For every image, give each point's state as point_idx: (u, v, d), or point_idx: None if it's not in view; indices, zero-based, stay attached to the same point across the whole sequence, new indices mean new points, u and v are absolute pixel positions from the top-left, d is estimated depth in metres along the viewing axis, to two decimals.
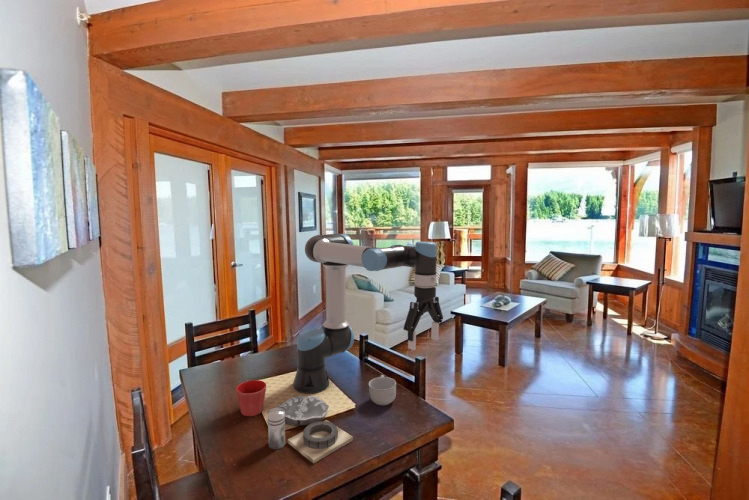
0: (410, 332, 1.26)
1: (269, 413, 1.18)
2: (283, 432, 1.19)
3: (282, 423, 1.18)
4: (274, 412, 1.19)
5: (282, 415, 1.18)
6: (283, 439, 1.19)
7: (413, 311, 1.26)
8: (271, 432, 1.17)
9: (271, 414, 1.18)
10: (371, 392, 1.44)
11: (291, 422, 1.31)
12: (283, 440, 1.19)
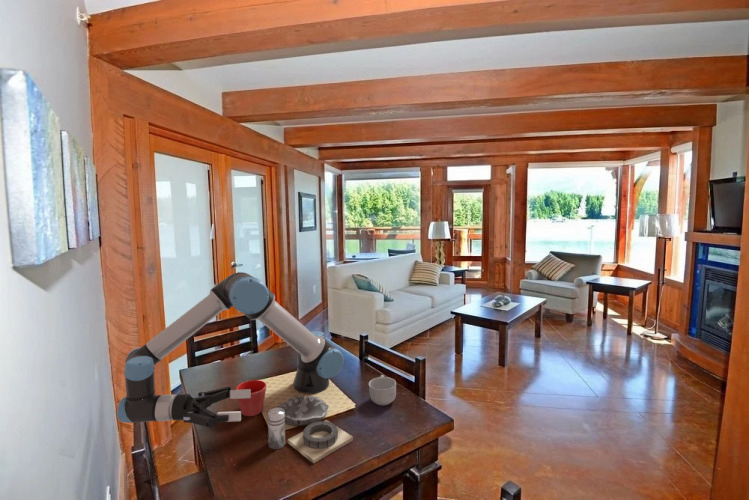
0: None
1: (269, 413, 1.18)
2: (283, 432, 1.19)
3: (282, 423, 1.18)
4: (274, 412, 1.19)
5: (282, 415, 1.18)
6: (283, 439, 1.19)
7: None
8: (271, 432, 1.17)
9: (271, 414, 1.18)
10: (371, 392, 1.44)
11: (291, 422, 1.31)
12: (283, 440, 1.19)
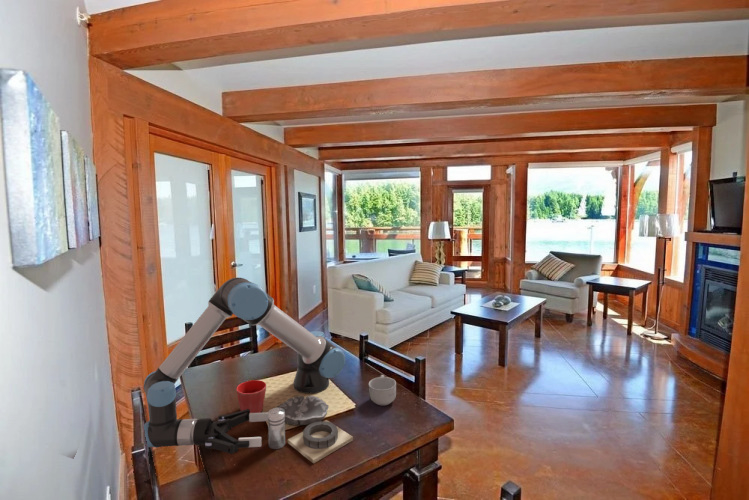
0: None
1: (269, 413, 1.18)
2: (283, 432, 1.19)
3: (282, 423, 1.18)
4: (274, 412, 1.19)
5: (282, 415, 1.18)
6: (283, 439, 1.19)
7: None
8: (271, 432, 1.17)
9: (271, 414, 1.18)
10: (371, 392, 1.44)
11: (291, 422, 1.31)
12: (283, 440, 1.19)
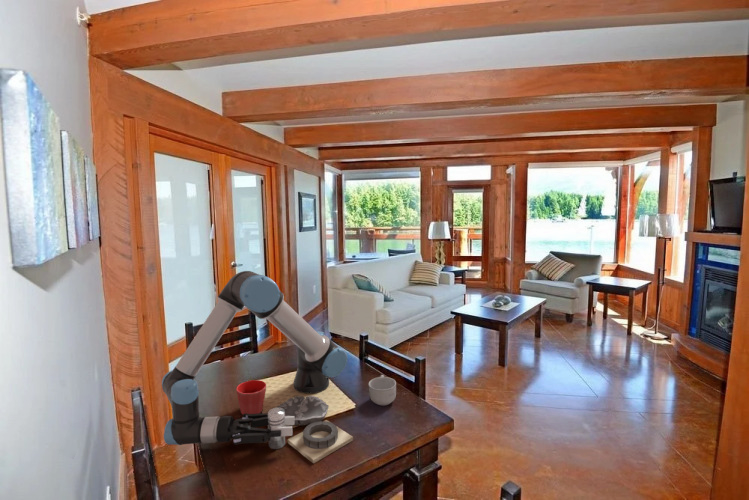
0: None
1: (269, 413, 1.18)
2: None
3: (282, 423, 1.18)
4: (274, 412, 1.19)
5: (282, 415, 1.18)
6: (283, 439, 1.19)
7: None
8: None
9: (271, 414, 1.18)
10: (371, 392, 1.44)
11: None
12: (283, 440, 1.19)
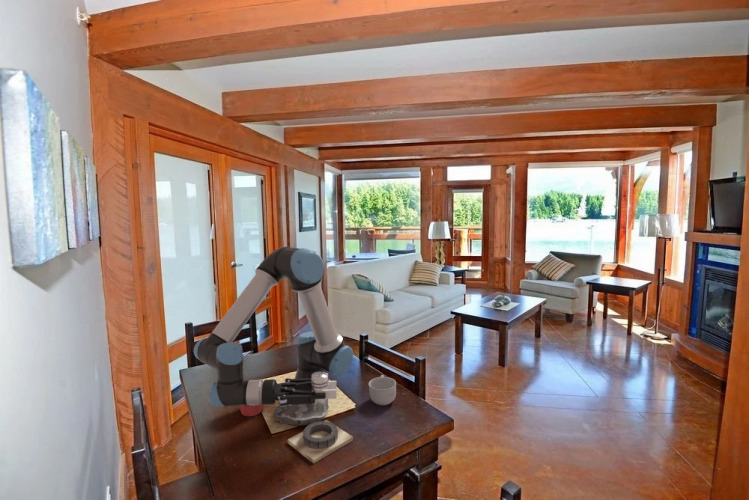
0: None
1: (313, 376, 1.18)
2: None
3: (325, 386, 1.18)
4: (318, 375, 1.19)
5: (326, 378, 1.18)
6: (326, 402, 1.19)
7: None
8: None
9: (315, 377, 1.18)
10: (371, 392, 1.44)
11: (291, 422, 1.31)
12: (326, 403, 1.19)
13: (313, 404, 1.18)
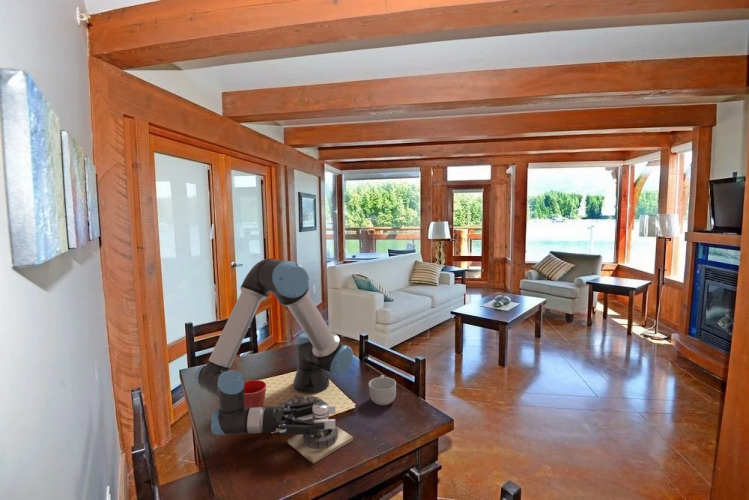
0: None
1: (314, 407, 1.20)
2: None
3: (326, 417, 1.19)
4: (318, 406, 1.20)
5: (327, 409, 1.20)
6: (327, 433, 1.20)
7: None
8: None
9: (316, 408, 1.19)
10: (371, 392, 1.44)
11: None
12: (327, 434, 1.20)
13: (314, 435, 1.20)
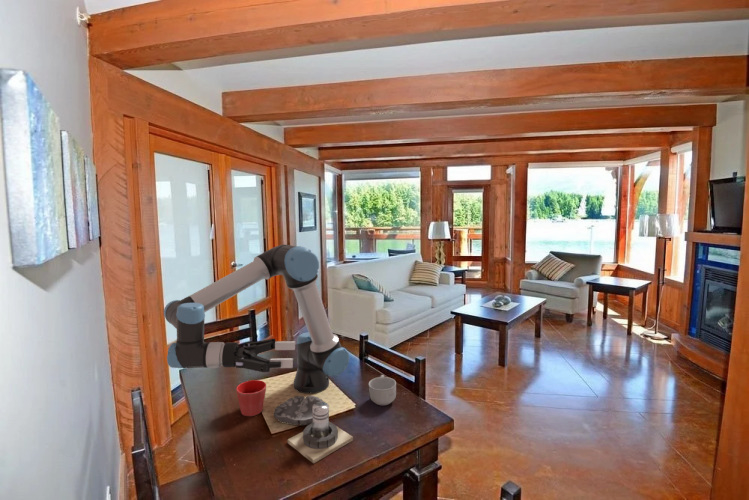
0: None
1: (314, 407, 1.19)
2: (327, 426, 1.20)
3: (326, 417, 1.19)
4: (319, 407, 1.20)
5: (327, 409, 1.19)
6: (327, 433, 1.20)
7: None
8: (316, 426, 1.19)
9: (316, 408, 1.19)
10: (371, 392, 1.44)
11: (291, 422, 1.31)
12: (327, 434, 1.20)
13: (314, 435, 1.20)
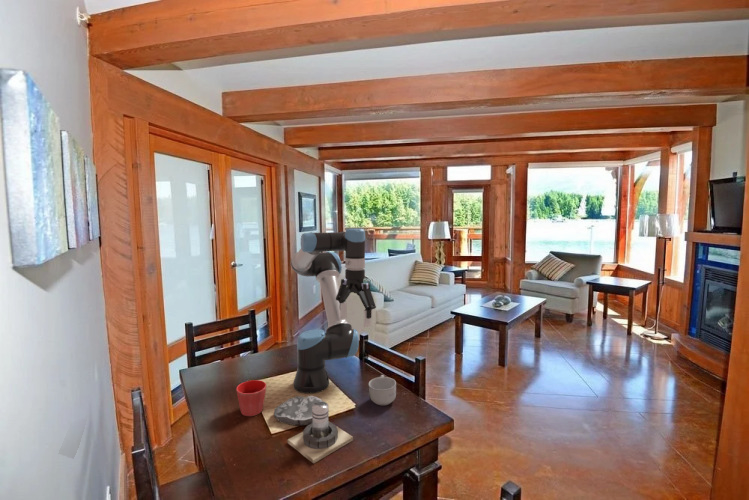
0: (339, 302, 1.50)
1: (314, 407, 1.20)
2: (327, 426, 1.20)
3: (326, 417, 1.20)
4: (318, 406, 1.20)
5: (327, 408, 1.20)
6: (327, 433, 1.21)
7: None
8: (316, 426, 1.19)
9: (316, 408, 1.19)
10: (371, 392, 1.44)
11: (291, 422, 1.31)
12: (327, 434, 1.21)
13: (314, 435, 1.19)
